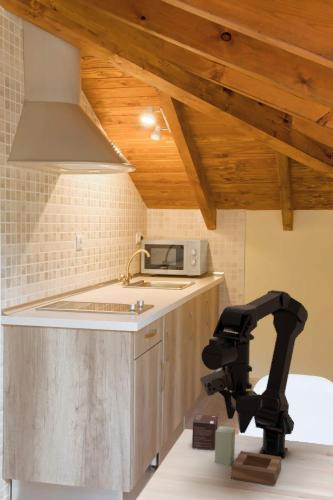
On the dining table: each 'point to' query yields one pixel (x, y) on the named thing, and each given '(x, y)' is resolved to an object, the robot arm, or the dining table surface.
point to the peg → (224, 445)
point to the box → (204, 432)
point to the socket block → (256, 468)
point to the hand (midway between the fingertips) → (236, 425)
